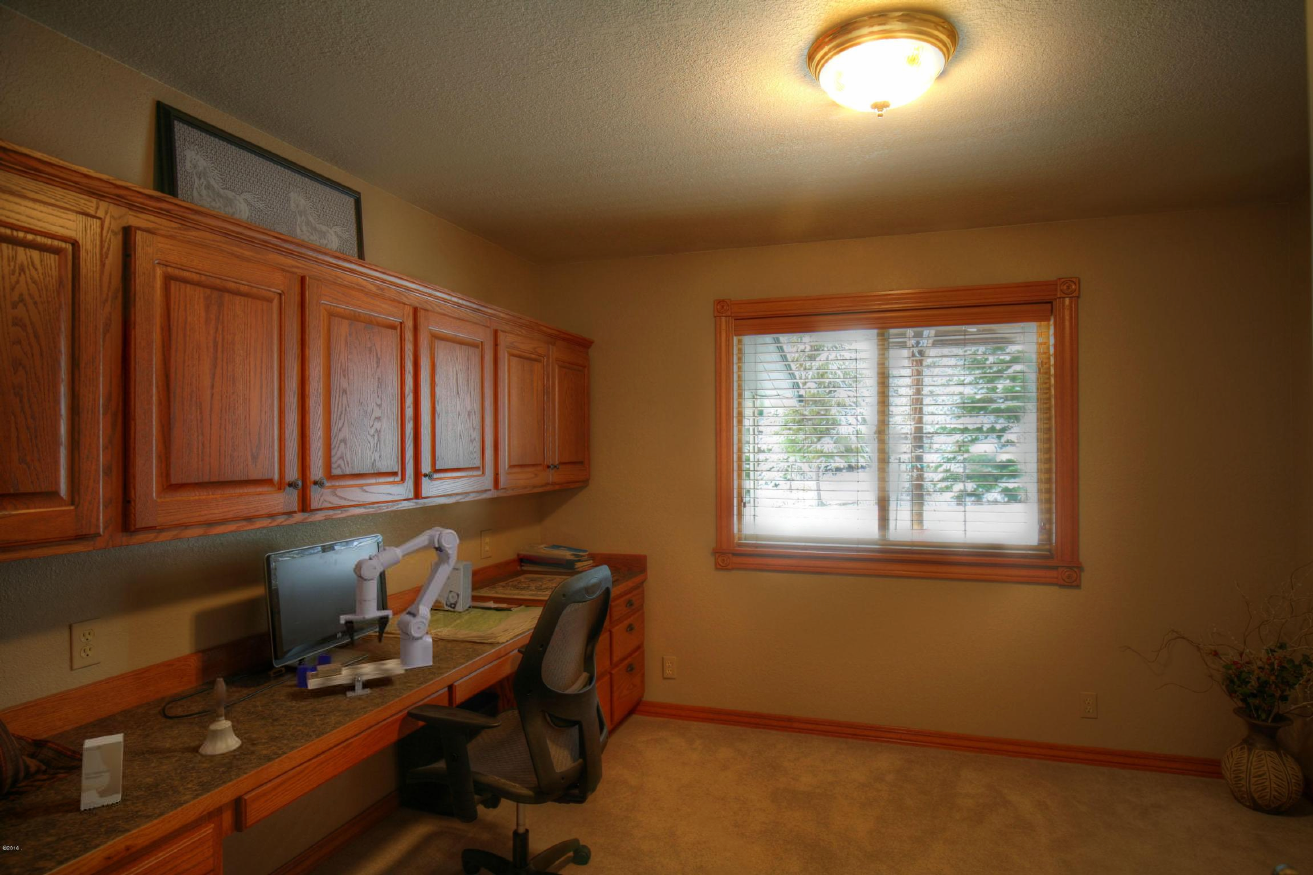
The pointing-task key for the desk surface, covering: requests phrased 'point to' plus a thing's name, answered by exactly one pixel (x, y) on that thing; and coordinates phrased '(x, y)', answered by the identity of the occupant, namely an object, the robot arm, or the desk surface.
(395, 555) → the robot arm
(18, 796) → the desk surface
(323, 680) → the balance beam
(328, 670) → the block
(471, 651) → the desk surface
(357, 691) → the pivot stand
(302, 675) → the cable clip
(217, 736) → the hand bell
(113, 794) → the skincare box
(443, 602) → the hard drive box
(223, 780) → the desk surface
